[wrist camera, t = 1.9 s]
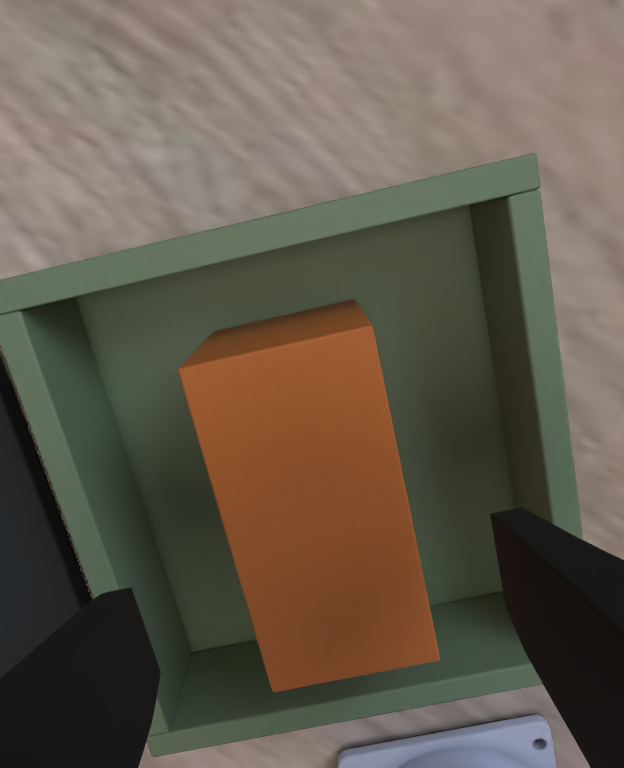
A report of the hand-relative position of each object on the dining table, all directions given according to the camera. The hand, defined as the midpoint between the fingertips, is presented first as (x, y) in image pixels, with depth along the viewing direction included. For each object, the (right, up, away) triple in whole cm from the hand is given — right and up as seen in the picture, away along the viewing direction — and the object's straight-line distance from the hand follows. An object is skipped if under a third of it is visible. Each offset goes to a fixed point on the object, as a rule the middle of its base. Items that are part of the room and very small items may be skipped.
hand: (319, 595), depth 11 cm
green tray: (0, +2, +8) cm, 8 cm away
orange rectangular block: (0, +2, +8) cm, 8 cm away
